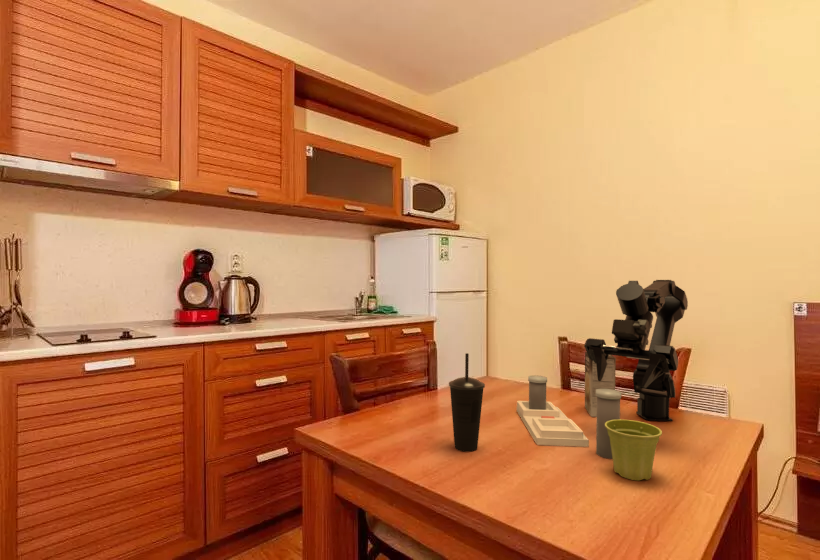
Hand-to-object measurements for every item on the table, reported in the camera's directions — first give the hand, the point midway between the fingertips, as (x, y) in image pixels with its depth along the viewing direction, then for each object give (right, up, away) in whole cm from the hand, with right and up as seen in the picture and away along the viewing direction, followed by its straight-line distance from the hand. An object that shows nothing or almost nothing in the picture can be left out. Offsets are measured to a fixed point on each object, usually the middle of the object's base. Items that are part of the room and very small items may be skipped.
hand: (620, 383), depth 95 cm
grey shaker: (-5, -13, -6) cm, 15 cm away
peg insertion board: (-12, -13, +11) cm, 21 cm away
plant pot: (-5, -13, -15) cm, 21 cm away
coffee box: (+6, -14, +23) cm, 28 cm away
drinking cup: (-34, -13, -3) cm, 37 cm away
